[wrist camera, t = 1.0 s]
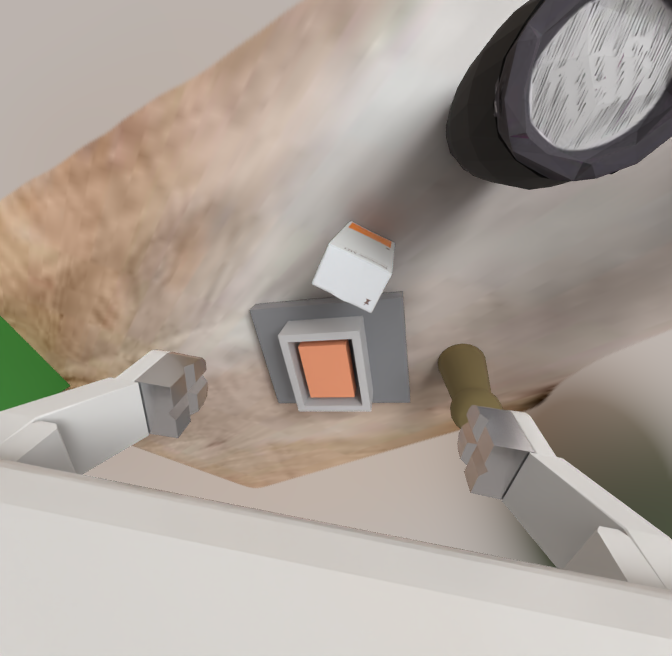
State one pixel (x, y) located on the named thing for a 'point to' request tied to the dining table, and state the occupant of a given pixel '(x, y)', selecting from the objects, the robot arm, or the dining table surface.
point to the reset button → (328, 368)
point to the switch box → (336, 324)
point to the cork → (466, 380)
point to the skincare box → (356, 266)
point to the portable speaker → (566, 93)
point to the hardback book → (24, 371)
